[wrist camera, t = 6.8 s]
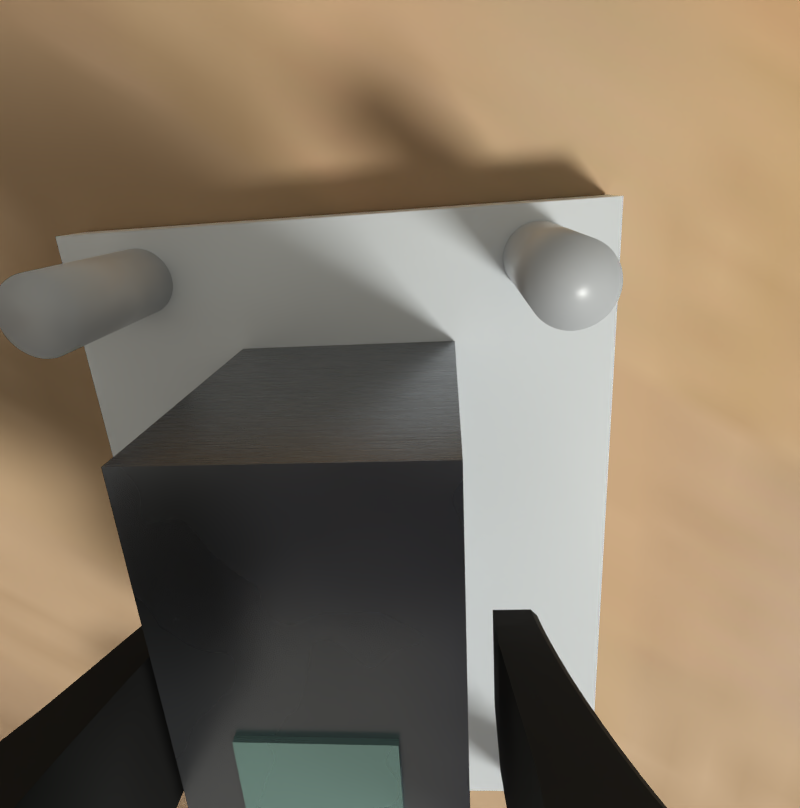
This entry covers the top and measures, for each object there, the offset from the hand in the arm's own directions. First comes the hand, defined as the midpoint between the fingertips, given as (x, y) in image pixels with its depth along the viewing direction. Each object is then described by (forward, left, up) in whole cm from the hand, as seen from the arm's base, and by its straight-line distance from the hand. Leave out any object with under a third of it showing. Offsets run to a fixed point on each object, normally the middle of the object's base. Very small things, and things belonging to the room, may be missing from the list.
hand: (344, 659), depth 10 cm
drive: (0, 0, -3) cm, 3 cm away
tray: (0, 0, -4) cm, 4 cm away
